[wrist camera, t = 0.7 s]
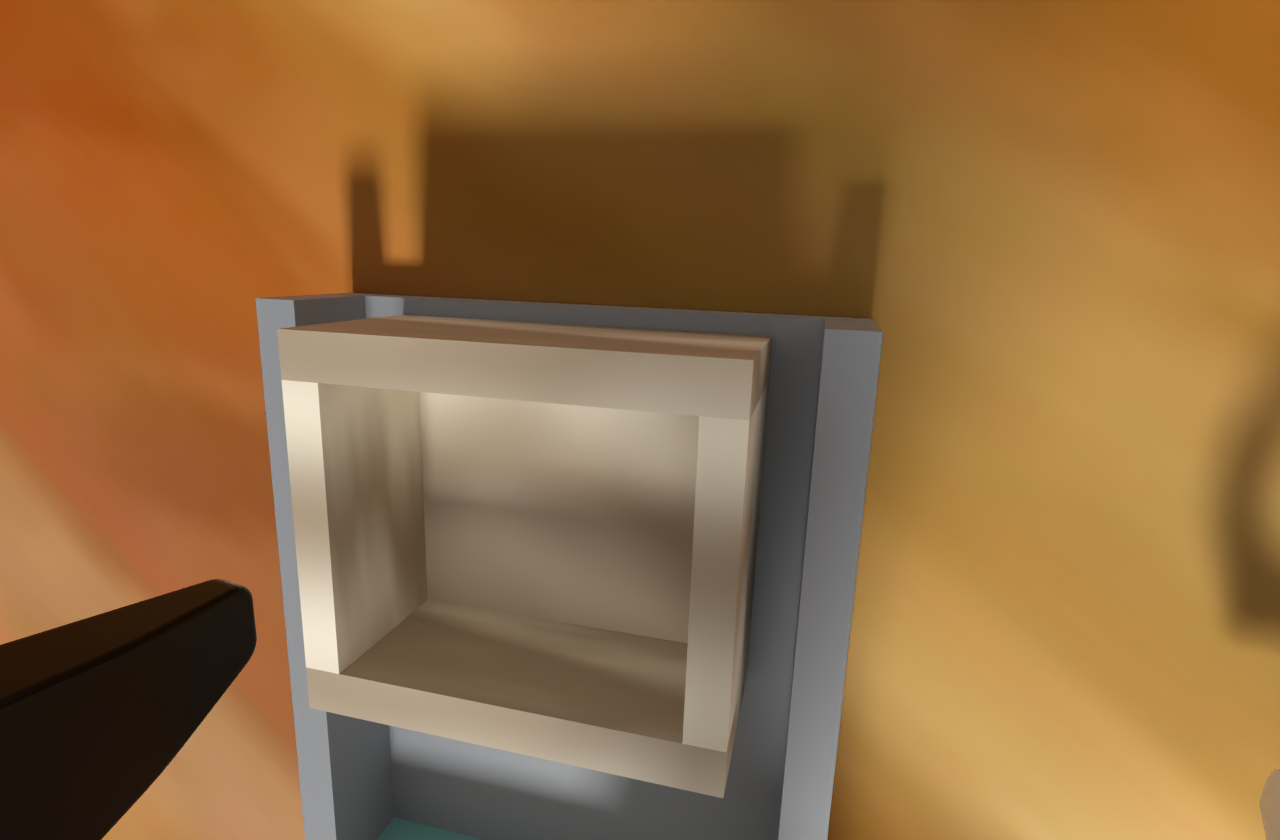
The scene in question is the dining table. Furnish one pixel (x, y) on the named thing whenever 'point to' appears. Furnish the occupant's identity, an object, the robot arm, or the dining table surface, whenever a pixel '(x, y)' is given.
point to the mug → (1271, 806)
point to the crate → (530, 534)
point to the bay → (779, 634)
